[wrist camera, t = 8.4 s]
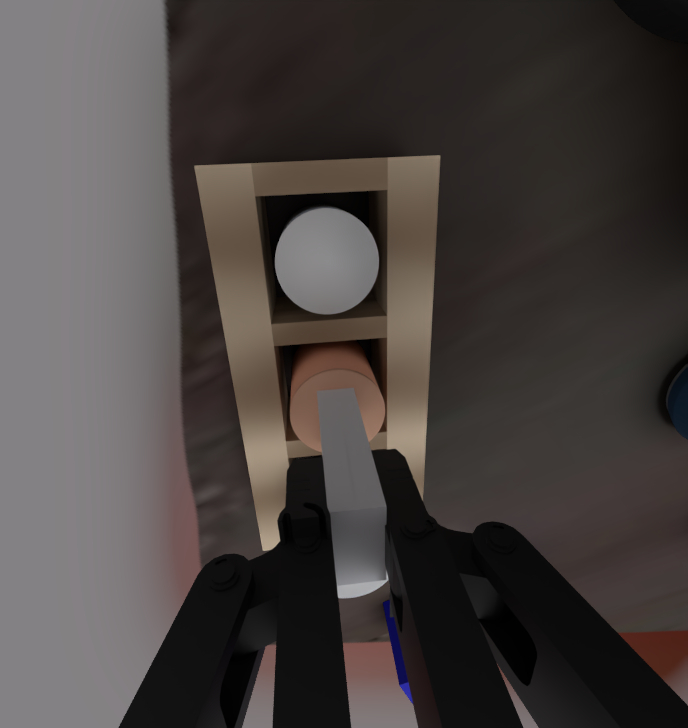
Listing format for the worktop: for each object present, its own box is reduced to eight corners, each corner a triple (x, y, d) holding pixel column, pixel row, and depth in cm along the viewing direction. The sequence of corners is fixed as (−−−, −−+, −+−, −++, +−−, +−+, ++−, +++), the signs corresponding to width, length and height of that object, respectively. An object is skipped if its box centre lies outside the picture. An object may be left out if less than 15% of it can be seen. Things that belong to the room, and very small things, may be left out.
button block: (217, 170, 18) (194, 165, 14) (409, 161, 19) (440, 155, 15) (268, 493, 26) (262, 550, 22) (402, 479, 27) (421, 532, 23)
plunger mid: (288, 334, 20) (285, 375, 16) (366, 328, 20) (385, 367, 16) (295, 403, 22) (294, 458, 17) (368, 397, 22) (385, 449, 18)
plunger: (275, 205, 19) (268, 211, 14) (360, 201, 19) (378, 205, 14) (284, 289, 20) (280, 317, 16) (362, 284, 20) (379, 310, 16)
